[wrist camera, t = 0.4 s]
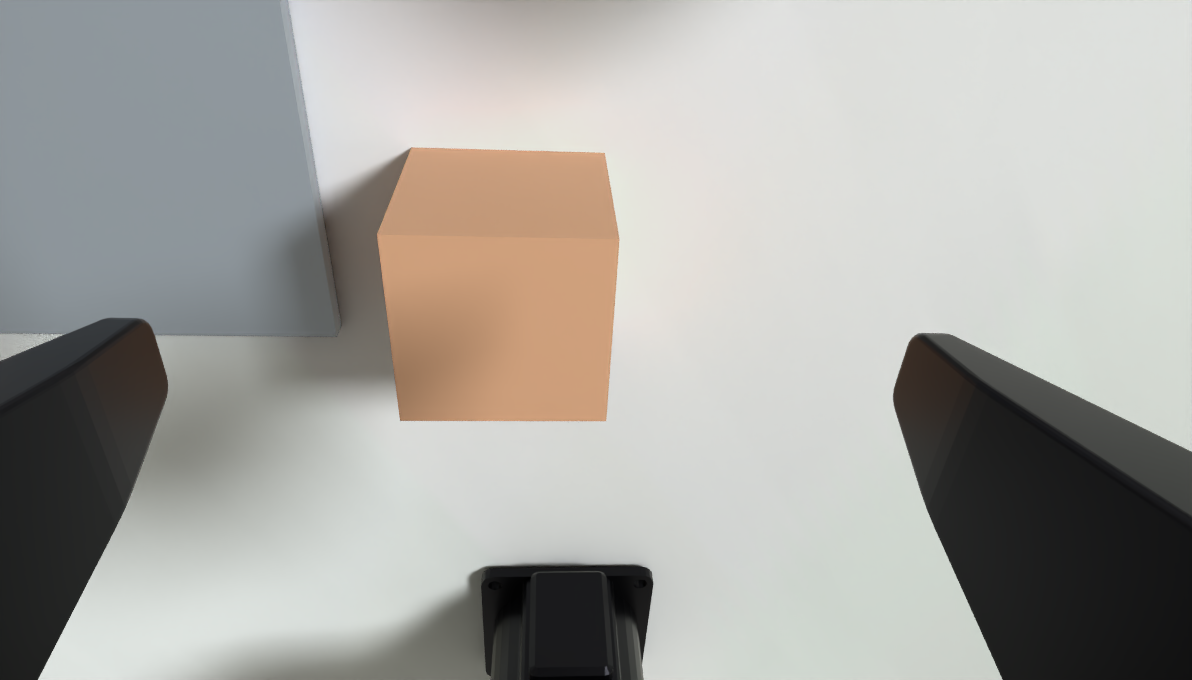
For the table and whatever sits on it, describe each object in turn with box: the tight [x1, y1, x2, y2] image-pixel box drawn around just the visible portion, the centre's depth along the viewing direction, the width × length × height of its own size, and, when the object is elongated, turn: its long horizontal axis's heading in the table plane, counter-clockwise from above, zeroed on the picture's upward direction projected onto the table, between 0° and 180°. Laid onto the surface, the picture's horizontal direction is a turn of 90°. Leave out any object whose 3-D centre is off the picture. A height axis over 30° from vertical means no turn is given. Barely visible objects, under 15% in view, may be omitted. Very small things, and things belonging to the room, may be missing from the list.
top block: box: [377, 148, 619, 421], centre depth 19 cm, size 5×5×5 cm
